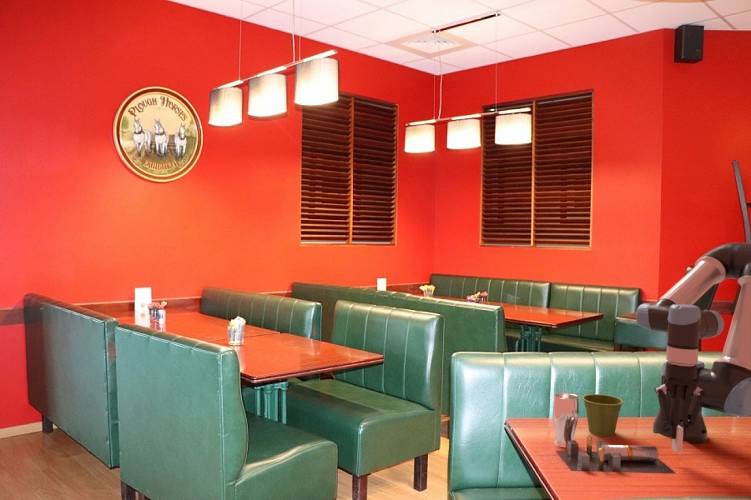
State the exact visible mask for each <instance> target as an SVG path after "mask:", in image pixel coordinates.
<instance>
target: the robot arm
mask: <svg viewBox="0 0 751 500" xmlns="http://www.w3.org/2000/svg"><path fill="white" fill-rule="evenodd" d="M729 279H731V280H733V279H734V280H737V283H738V284H739V286H740V287H741V288H740V292H739V295H738V299H737V301H736V306H735V309H734V311H733V316H732V319H731V322H730V326H729V330H728V333H727V337H726V339H725V343H724V346H723V350H722V353H721V357H720V358H719V359H717V360H714V361H713V363H712V367H711V368H708V367H707V368H706V364H705V363H704V361H700V360H699V343H700V341H699V340H701V339H711V338H714V337H717V336H719V335H720V334H721V333H722V332H723V330H724V328H725V321H724V319H723V317H722V315H721V314H720V313H719V312H717V311H715V310H712V309H711V310H710V309H709V310H708V309H703V310H702V309H701V308H700V307H699V306H697V305H694V304H695V303H696V302H697V301H699V299H701V297H702V296H703V295H704V294H705V293H706V292H708V291H709V290H710V289H711V288H712V287H713V286H714V285H716V284H720V283H721V282H723V281H724V280H729ZM635 319H636V324H637V325H638V327H640V328H641V329H645V330H649V331H655V332H663V333H667V338H666V339H667V342H666V356H665V357H666V358H665V359H666V361H665V362H664V363H663V364H662V366H661V373H660V386H659V387H658V386H655V387H654V392H655V393H656V395H657V399H658V404H659V409H658V411H657V414H656V416H655V419H654V421H653V422H652V432H653V433H654V434H660V435H662V436H663V437H667V438H671V450H673V452H675V453H683V442H684V441H686V442H687V443H689V444H700V443H705V442H706V441H708V430H707V426H706V423H705V419H704V417H703V416H704V415H703V408H704V409H707V410H711V411H715V412H719V413H723V414H727V415H728V416H736V417H741V418H746V417H749V416H750V415H751V242H738V241H737V242H736V241H735V242H729V243H725V244H722V245H719V246H717V247H714V248H713V249H711V250H709V251H707V252H706V253H704V254H703V255H702V256H700V257H699V258H698V259H697V260H696V261H695V263H694V267H693V268H692V269H691V270H690V271H688V272H687V273H686V275H684V276H683V277H682V278H681V279H680V280H678V282H677V283H675V284H674V285H673V286H672V287H671V288H670V289H669V290H668V291H666V292H665V293H664V294H663V295H662V296H661V297H660V298H659V299H657V301H655V302H654V303H650V302H649V303H646V302H645V303H641V304H640V305H638V307H637V309H636V312H635Z"/></svg>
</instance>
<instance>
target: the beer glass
mask: <svg viewBox="0 0 751 500" xmlns="http://www.w3.org/2000/svg"><path fill="white" fill-rule="evenodd" d="M553 399H554V400H553V410H552V411H553V413H552V414H553V422H554V431H555V434H554V435H555V437H554V441H553V444H554V445H555V446H557V447H561V448H565V449H568V440H575V437H576V436H575V435H576V428H577V425H578V422H579V420H578V419H579V411H580V409H579V408H580V405H579V404H580V403H579V402H580V401H579V396H578V395H576V394H573V393H569V392H568V393H567V392H557V393H555V394H554V398H553ZM575 441H576V440H575Z"/></svg>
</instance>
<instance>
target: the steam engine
mask: <svg viewBox="0 0 751 500" xmlns="http://www.w3.org/2000/svg"><path fill="white" fill-rule="evenodd" d="M601 445H609V444H608V443H607V442H606V441H604V440H597V441H596V451H593V436H589V435H588V436H586V451H583V450H582V451H581V450H580V451H579V443H578V441H576V440H568V448H567V450H555V453H557V455H558V456H559V458H560V459H561V460H562V461H563V463H564V464H565V465H566V466H567V467H568V469H569V470H570V471H571V472H592V473H593V472H596V473H597V472H600V473H603V472H604V473H633V474H634V473H635V474H637V473H638V474H642V473H643V474H672V475H675V474H676V475H677V473H676V472H675V471H674V470H673V469H672V468H670V466H669V465H667V464H666V463H664V461H662V460H661V459H659V458H658V461H657V462H643V461H621V457H620V456H619V455H618V454H617V453H609V460H608V461H605V460H604V449H603V448H601Z"/></svg>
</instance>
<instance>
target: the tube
mask: <svg viewBox="0 0 751 500" xmlns="http://www.w3.org/2000/svg"><path fill="white" fill-rule="evenodd" d="M601 448H603V449H604V460H605V461H608V460H609V453H617V454H618V455H619V456H620V457H621V461H643V462H657V461H658V459H659V451H658V448H657V447H656V446H655V445H627V444H624V445H623V444H622V445H621V444H608V445H601Z"/></svg>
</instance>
